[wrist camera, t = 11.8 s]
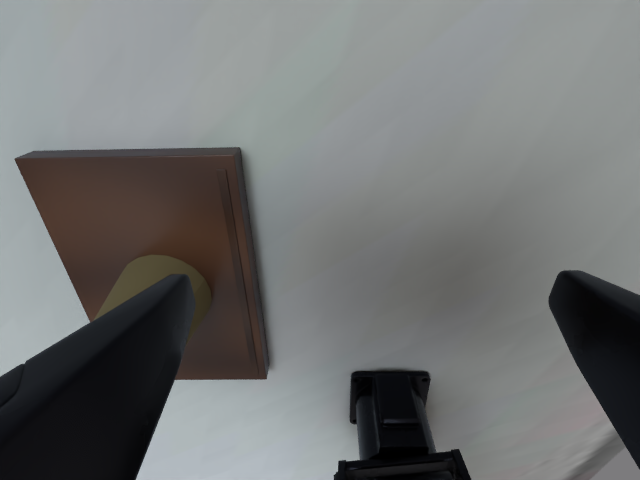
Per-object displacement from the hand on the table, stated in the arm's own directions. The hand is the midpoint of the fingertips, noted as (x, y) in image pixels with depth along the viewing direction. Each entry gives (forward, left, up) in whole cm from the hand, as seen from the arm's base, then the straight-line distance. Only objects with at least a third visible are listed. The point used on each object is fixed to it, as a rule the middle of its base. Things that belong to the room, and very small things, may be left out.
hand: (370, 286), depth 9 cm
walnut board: (-9, +12, -13) cm, 20 cm away
